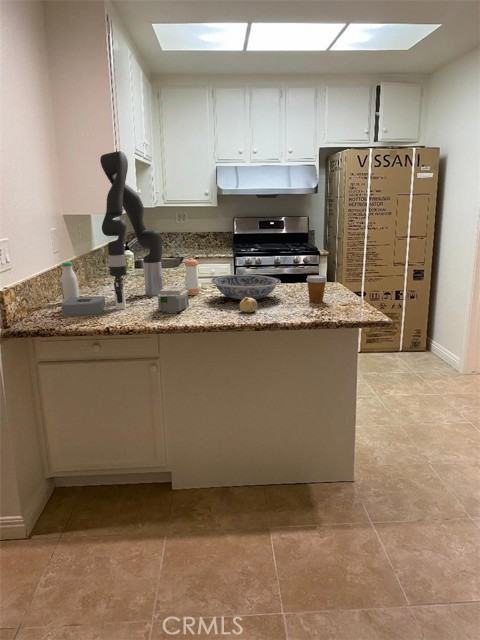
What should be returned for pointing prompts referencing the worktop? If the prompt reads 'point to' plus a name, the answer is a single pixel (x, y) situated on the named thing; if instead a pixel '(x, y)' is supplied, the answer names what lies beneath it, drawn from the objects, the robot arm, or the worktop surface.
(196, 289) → the pepper shaker
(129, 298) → the worktop surface
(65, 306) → the socket block
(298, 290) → the worktop surface
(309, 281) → the disposable coffee cup
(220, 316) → the worktop surface
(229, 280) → the ceramic bowl
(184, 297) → the grey box
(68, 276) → the milk bottle
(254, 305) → the onion
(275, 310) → the worktop surface
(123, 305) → the plug
